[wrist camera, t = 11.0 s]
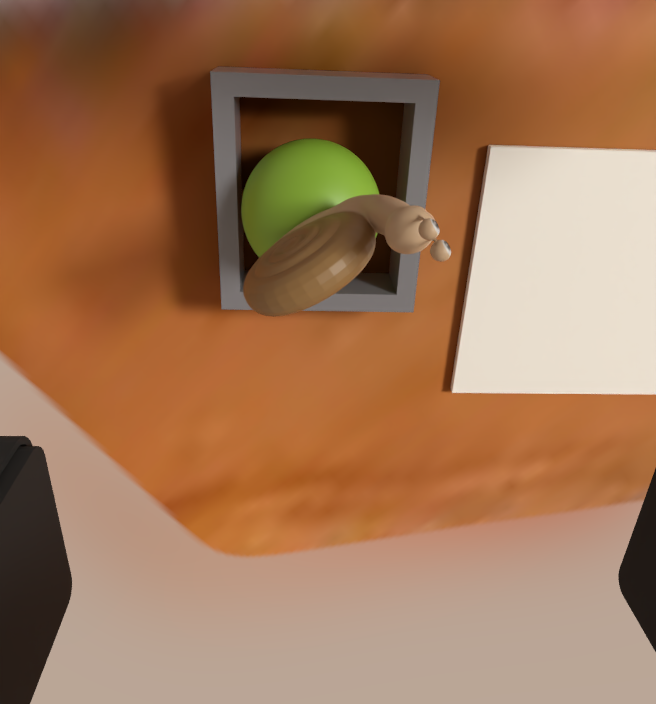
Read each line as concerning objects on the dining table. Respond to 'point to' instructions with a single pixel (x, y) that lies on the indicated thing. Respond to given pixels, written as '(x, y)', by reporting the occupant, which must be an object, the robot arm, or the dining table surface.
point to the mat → (561, 274)
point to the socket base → (237, 82)
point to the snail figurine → (320, 225)
